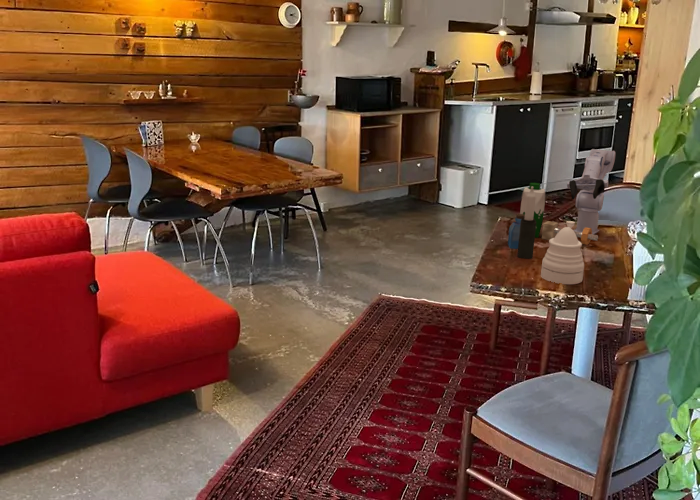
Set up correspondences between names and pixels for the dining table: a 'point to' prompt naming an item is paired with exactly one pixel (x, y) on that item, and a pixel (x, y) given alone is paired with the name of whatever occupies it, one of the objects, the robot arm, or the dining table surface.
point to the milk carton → (538, 205)
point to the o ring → (586, 235)
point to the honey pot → (564, 258)
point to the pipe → (580, 234)
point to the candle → (527, 229)
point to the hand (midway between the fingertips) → (583, 196)
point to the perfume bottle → (515, 232)
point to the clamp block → (549, 230)
